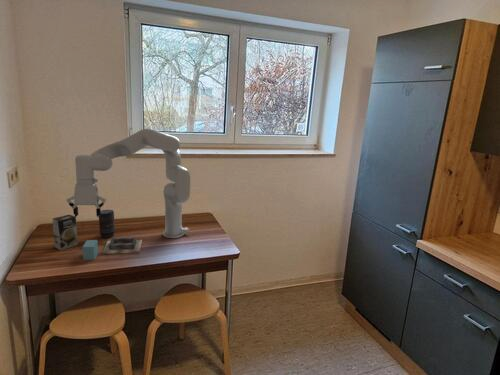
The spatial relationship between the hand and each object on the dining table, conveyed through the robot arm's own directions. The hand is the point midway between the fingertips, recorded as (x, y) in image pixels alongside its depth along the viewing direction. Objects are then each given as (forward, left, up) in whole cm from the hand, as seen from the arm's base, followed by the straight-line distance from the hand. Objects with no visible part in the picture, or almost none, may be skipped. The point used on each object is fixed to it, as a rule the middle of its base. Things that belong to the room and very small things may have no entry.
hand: (87, 215), depth 160 cm
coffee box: (+15, -13, -22) cm, 29 cm away
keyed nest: (-14, -9, -22) cm, 27 cm away
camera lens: (-3, -25, -22) cm, 33 cm away
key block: (0, 0, -22) cm, 22 cm away
